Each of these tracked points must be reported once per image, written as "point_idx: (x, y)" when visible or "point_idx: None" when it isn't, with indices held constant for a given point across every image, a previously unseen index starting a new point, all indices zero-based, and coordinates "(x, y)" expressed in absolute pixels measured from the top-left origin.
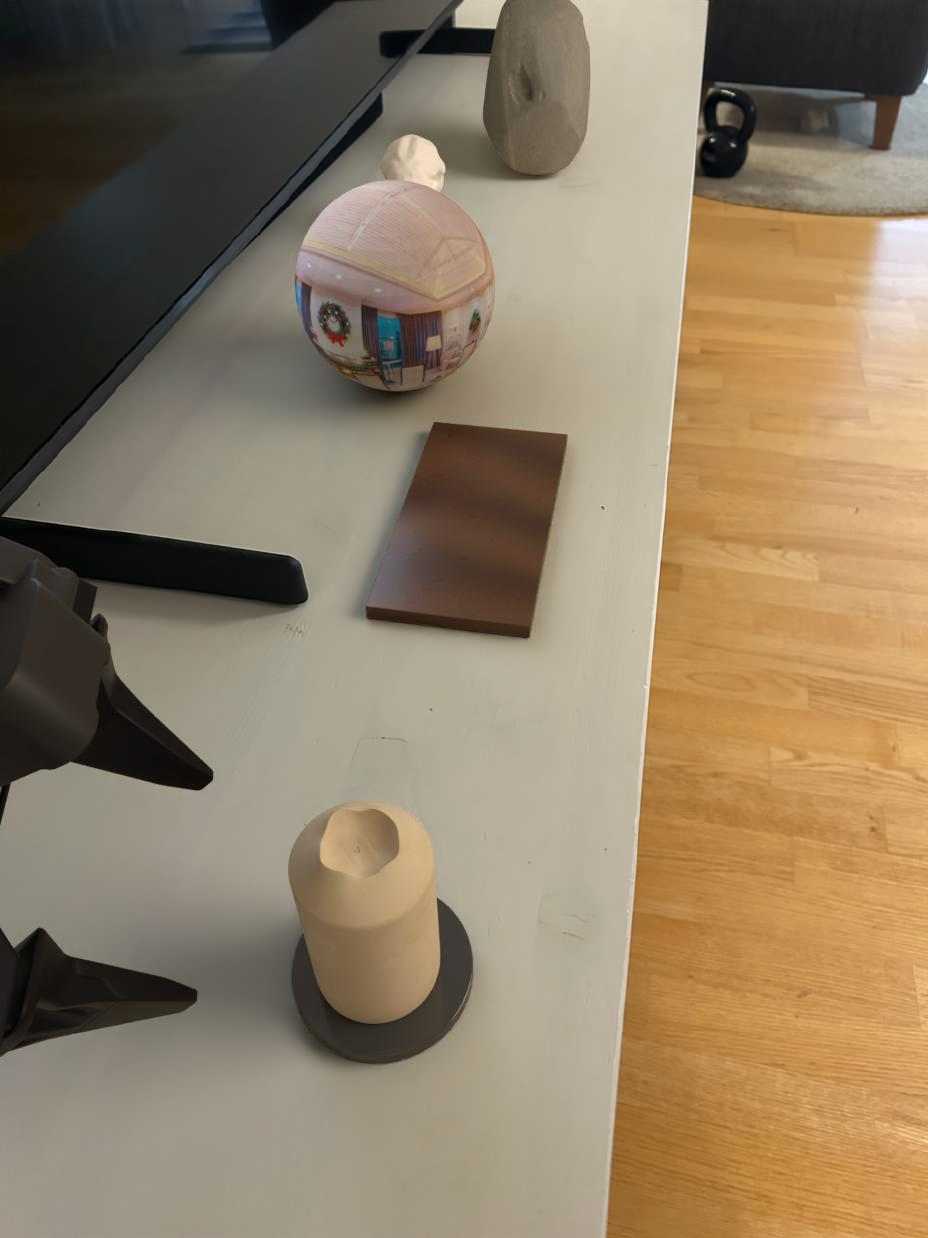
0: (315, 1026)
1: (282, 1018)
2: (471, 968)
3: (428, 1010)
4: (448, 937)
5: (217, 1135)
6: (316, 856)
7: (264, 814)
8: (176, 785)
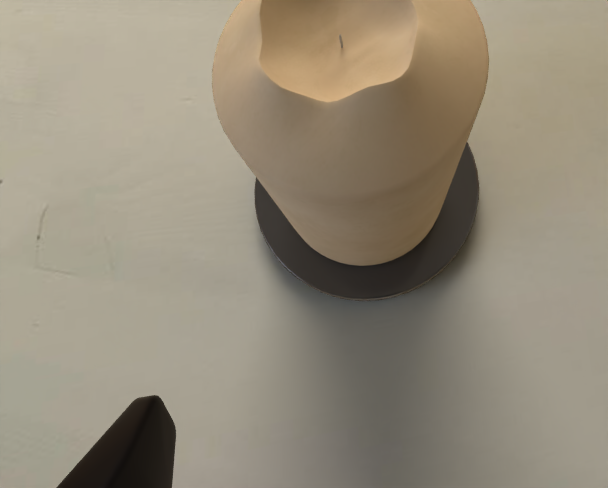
0: (448, 255)
1: (428, 306)
2: None
3: None
4: None
5: (578, 359)
6: (380, 95)
7: (146, 380)
8: (168, 480)
